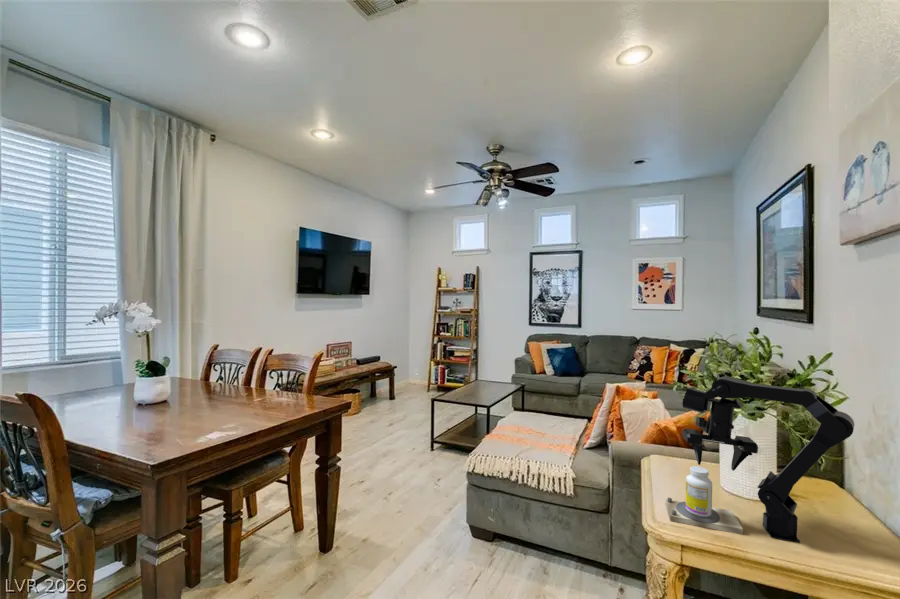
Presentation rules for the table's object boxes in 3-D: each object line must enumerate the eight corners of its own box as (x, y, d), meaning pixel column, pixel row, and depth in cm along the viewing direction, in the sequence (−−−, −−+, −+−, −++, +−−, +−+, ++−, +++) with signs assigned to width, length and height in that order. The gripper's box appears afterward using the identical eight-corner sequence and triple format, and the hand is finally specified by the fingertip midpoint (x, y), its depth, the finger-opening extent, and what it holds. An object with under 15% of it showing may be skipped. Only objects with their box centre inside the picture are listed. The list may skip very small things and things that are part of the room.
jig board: (730, 514, 121) (731, 506, 121) (743, 535, 110) (743, 526, 110) (664, 503, 127) (664, 495, 127) (670, 521, 117) (670, 513, 117)
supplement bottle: (695, 504, 123) (697, 463, 123) (716, 515, 117) (718, 472, 117) (680, 508, 121) (681, 466, 120) (700, 520, 115) (702, 475, 114)
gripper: (744, 413, 127) (738, 460, 128) (679, 405, 131) (674, 450, 133) (762, 426, 116) (755, 477, 117) (690, 416, 121) (685, 466, 122)
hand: (715, 467), depth 123 cm, fingers open, 9 cm apart
